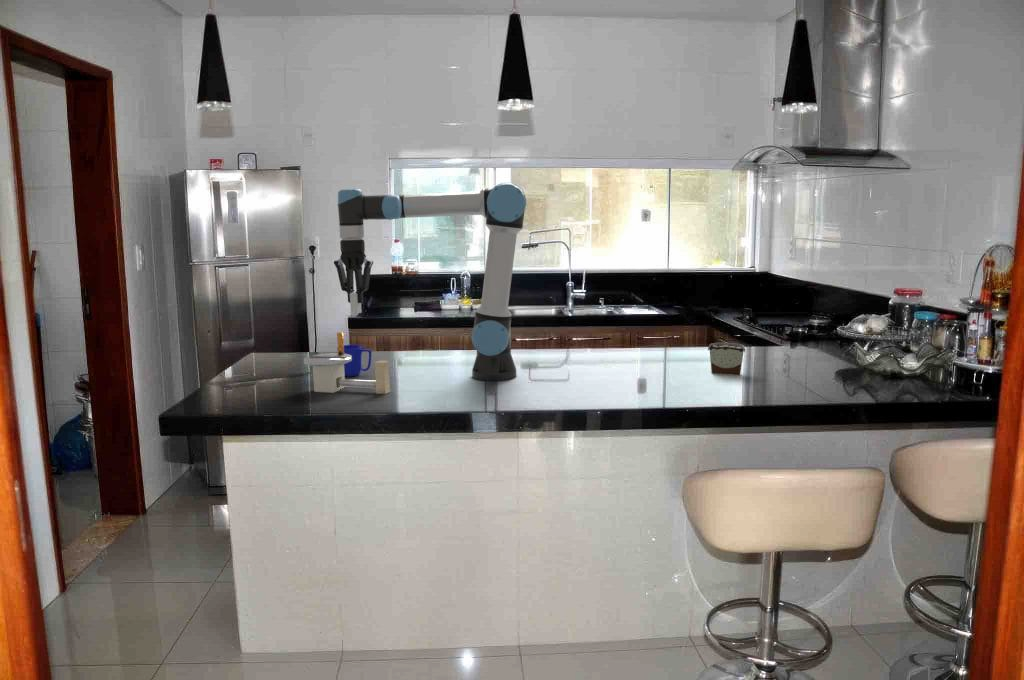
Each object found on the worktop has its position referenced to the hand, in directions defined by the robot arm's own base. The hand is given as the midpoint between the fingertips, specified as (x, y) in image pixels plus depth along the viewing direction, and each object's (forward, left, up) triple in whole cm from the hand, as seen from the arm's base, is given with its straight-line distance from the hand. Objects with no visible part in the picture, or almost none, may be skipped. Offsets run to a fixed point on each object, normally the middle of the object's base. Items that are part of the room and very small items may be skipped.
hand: (356, 312), depth 251 cm
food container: (-114, -47, -25) cm, 126 cm away
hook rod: (0, +5, -24) cm, 25 cm away
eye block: (+8, +5, -24) cm, 26 cm away
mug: (+10, -16, -25) cm, 31 cm away
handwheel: (+8, +5, -15) cm, 18 cm away
